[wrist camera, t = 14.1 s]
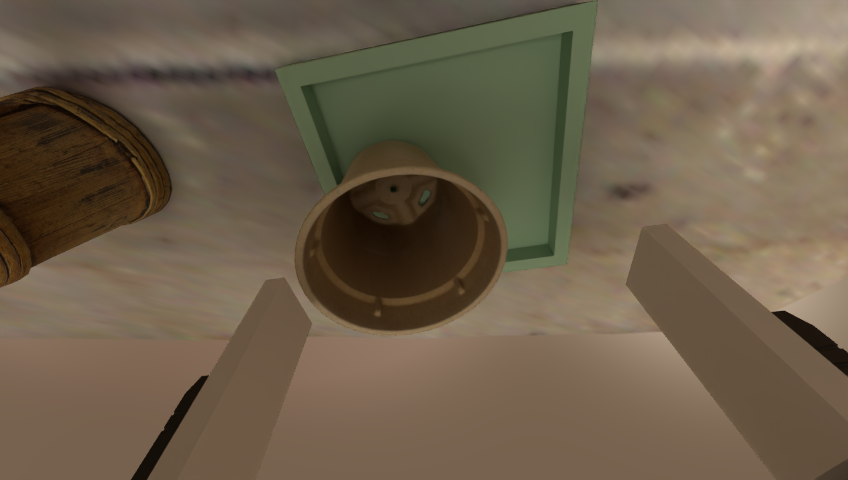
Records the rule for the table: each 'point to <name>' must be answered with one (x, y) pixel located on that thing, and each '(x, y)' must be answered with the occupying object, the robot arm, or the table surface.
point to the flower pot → (400, 244)
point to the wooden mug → (68, 176)
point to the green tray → (465, 115)
